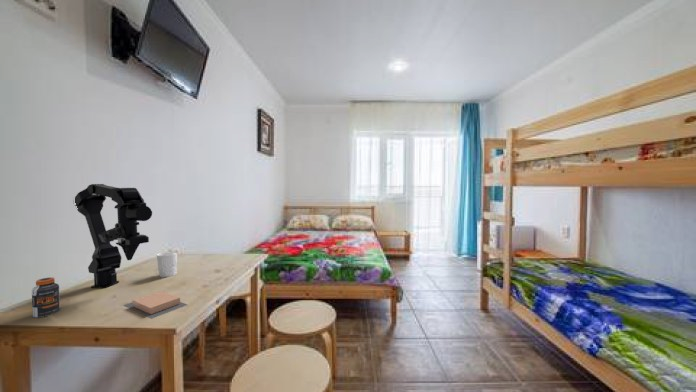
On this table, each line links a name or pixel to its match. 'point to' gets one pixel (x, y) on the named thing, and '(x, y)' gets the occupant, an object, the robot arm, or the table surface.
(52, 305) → the pill bottle
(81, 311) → the table surface
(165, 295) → the tile
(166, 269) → the white cup
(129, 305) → the mat
